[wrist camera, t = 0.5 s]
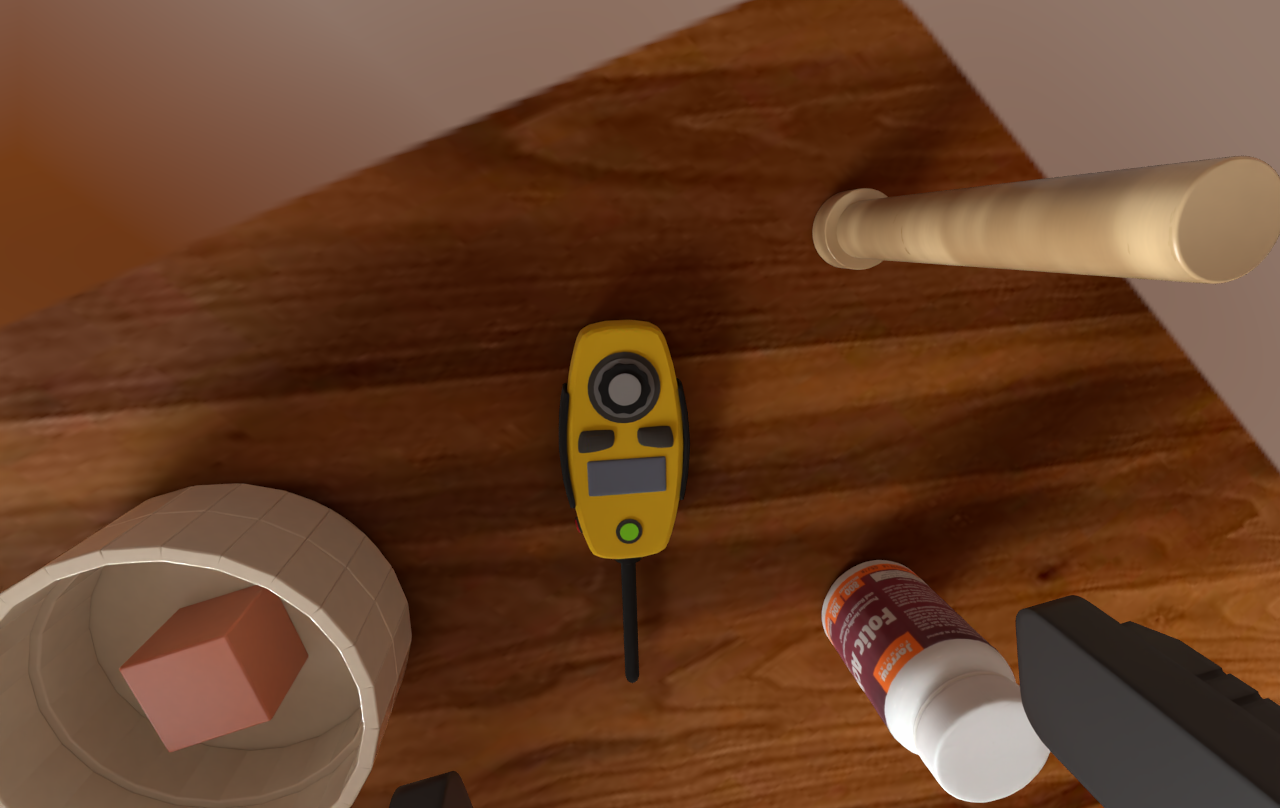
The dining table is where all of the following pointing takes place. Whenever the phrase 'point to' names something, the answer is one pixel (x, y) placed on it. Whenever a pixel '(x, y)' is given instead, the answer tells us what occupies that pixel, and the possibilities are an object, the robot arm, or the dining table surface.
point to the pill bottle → (933, 681)
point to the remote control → (624, 450)
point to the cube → (216, 667)
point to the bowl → (143, 601)
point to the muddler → (1072, 223)
